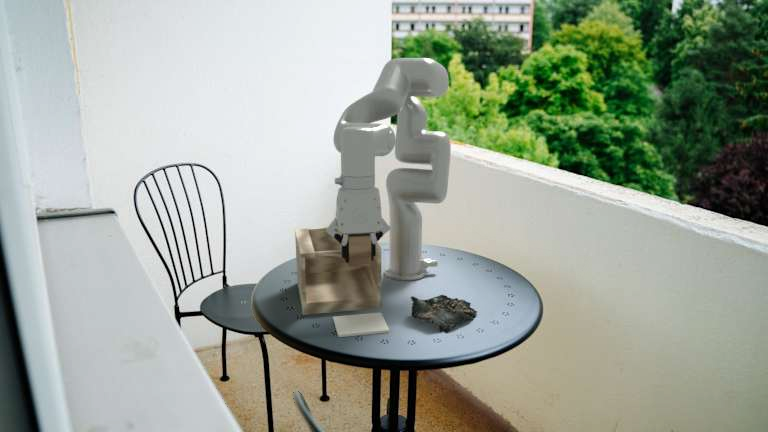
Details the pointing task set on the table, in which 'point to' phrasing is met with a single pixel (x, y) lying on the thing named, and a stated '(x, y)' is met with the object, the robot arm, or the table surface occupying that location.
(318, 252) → the slot box
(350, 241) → the walnut block
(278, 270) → the table surface
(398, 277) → the robot arm
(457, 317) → the decorative rock
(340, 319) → the tile pad
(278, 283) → the table surface
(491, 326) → the table surface
